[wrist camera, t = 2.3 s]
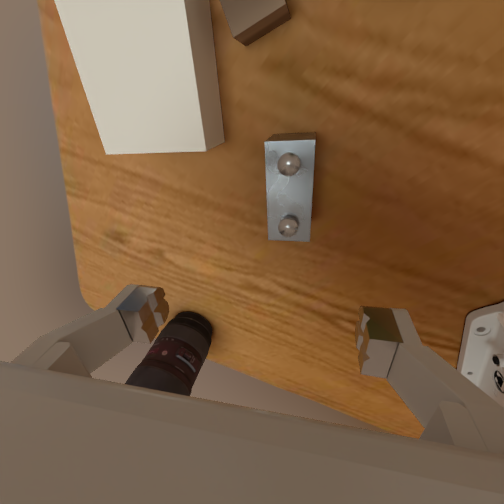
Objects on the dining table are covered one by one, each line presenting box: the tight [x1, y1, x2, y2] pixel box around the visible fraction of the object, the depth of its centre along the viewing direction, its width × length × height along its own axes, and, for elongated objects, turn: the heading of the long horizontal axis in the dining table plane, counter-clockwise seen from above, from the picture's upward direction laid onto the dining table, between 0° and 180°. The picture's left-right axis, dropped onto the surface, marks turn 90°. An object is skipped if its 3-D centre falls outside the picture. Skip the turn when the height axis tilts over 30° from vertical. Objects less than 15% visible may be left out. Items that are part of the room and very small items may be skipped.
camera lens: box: [125, 312, 212, 396], centre depth 36 cm, size 8×8×15 cm
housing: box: [265, 132, 316, 242], centre depth 24 cm, size 9×4×6 cm, turn 4°
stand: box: [54, 0, 225, 154], centre depth 22 cm, size 12×10×5 cm
